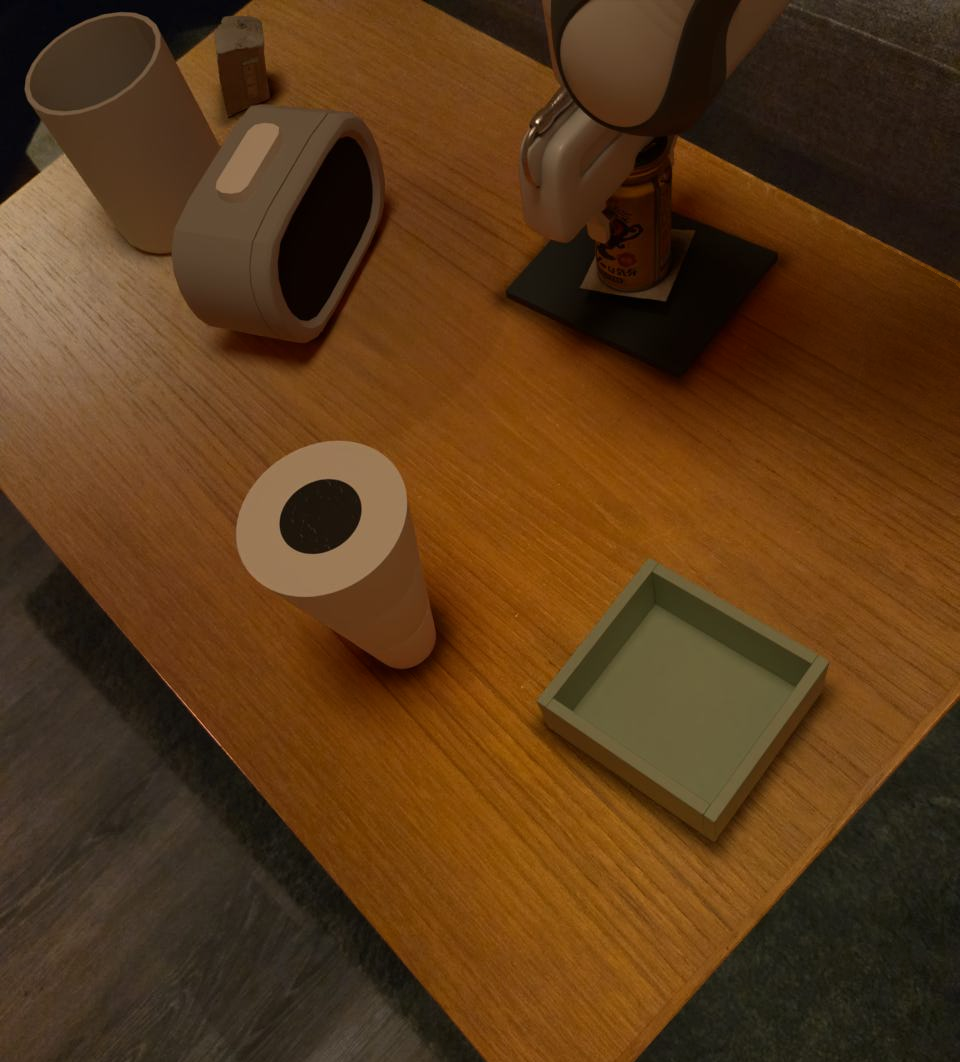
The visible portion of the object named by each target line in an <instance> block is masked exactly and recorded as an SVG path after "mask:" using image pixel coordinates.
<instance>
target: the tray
mask: <svg viewBox="0 0 960 1062" xmlns="http://www.w3.org/2000/svg"><path fill="white" fill-rule="evenodd" d="M605 611H606V612H604V613H603V615H602V616H601V618H600V619H599V620H598V621H597V623H596V624H595V626H593V628H592V629H591V631H590V632H589V633H588V634H587V635H586V637H585V638H584V639H583V641H581V643H580V644H579V646H578V647H577V648H576V649H575V651H574V652H573V653H572V654H571V655H570V657H569V658H568V659H567V661H566V662H565V664H564V665H563V666H562V667H561V668H560V670H559V671H558V672H557V673H556V675H555V676H554V677H553V678H552V680H551V681H550V683H549V684H548V685H547V686H546V687H545V689H544V690H543V691H542V693H541V694H540V695H539V696H538V697H537V699H536V704H537V705H538V707H539V710H540V713H541V715H542V717H543V719H544V721H545V723H546V725H547V728H548V729H550V730H551V731H552V732H554V733H555V734H556V735H558V736H559V737H561V738H563V740H566V741H567V742H568V743H570V744H571V745H572V746H574V747H576V748H577V749H579V750H580V751H581V752H583V753H584V754H585V755H587V756H588V757H590V758H592V759H593V760H594V761H596V762H597V763H599V764H600V765H601V766H603V767H604V768H606V769H607V770H609V771H610V772H611V773H613V774H614V775H616V776H617V777H619V778H620V779H622V780H623V781H625V782H626V783H628V784H629V785H631V786H632V787H633V788H635V789H636V790H638V791H639V792H641V793H642V794H643V795H645V796H646V797H648V799H651V800H652V801H653V802H655V803H656V804H658V805H659V806H661V807H662V808H664V809H665V810H666V811H668V812H669V813H671V814H672V815H673V816H675V817H676V818H678V819H679V820H681V821H682V822H684V823H685V824H686V825H688V826H689V827H691V828H692V829H694V830H695V831H696V832H698V833H699V834H701V835H702V836H704V837H705V838H706V839H708V840H709V841H711V842H712V843H715V842H716V841H717V839H718V838H720V835H721V834H722V833H723V832H724V830H725V828H726V827H727V826H728V824H729V823H730V821H731V820H732V819H733V817H734V816H735V814H736V813H737V811H738V810H739V809H740V807H741V806H742V805H743V803H744V802H745V800H746V799H747V797H748V796H749V795H750V793H751V792H752V791H753V790H754V788H755V786H756V785H757V784H758V782H759V781H760V779H761V778H762V777H763V776H764V773H765V772H766V771H767V770H768V768H769V767H770V765H771V764H772V763H773V761H774V760H775V758H776V757H777V756H778V754H779V753H780V751H781V750H782V748H783V747H784V746H785V744H786V743H787V741H788V740H789V739H790V738H791V736H792V734H793V733H794V732H795V730H796V729H797V728H798V727H799V725H800V724H801V722H802V720H803V719H804V718H805V716H806V715H807V714H808V712H809V711H810V709H811V708H812V707H813V705H814V703H816V701H817V700H818V698H819V696H821V694H822V692H823V687H824V685H825V680H826V678H827V673H828V670H829V667H830V663H831V661H830V660H829V659H827V658H826V657H824V656H822V655H820V654H819V653H817V652H815V651H814V650H812V649H810V648H808V647H806V646H805V645H803V644H801V643H800V642H798V641H796V640H795V639H793V638H791V637H789V636H787V635H786V634H784V633H782V632H780V631H778V630H777V629H775V628H774V627H772V626H770V625H768V624H766V623H764V622H763V621H761V620H759V619H757V618H756V617H754V616H752V615H751V614H749V613H747V612H745V611H744V610H742V609H740V608H739V607H737V606H735V605H733V604H732V603H730V602H728V601H727V600H725V599H723V598H721V597H720V596H717V595H716V594H714V593H713V592H711V591H709V590H707V589H705V588H703V587H702V586H700V585H698V584H696V583H695V582H693V581H691V580H689V579H688V578H686V577H684V576H683V575H680V574H679V573H678V572H676V571H674V570H672V569H670V568H668V567H667V566H666V565H663V564H662V563H660V562H658V561H656V560H654V559H653V558H651V557H648V558H647V559H646V560H645V562H644V563H643V564H642V565H641V567H640V568H639V569H638V571H636V573H635V574H634V576H633V577H632V578H631V579H630V580H629V582H628V583H627V584H626V586H625V587H624V588H623V590H622V591H621V592H620V593H619V595H618V596H617V597H616V598H615V600H614V601H613V602H612V603H611V605H610V606H609V608H607V610H605Z"/></svg>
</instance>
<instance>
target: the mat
mask: <svg viewBox="0 0 960 1062" xmlns="http://www.w3.org/2000/svg"><path fill="white" fill-rule="evenodd" d="M671 229H678V230H695V233H694V235H693V237H692V240H691V243H690V245H689V248H688V250H687V252H686V255H685V257H684V259H683V262H682V265H681V267H680V269H679V272H678V274H677V277H676V279H675V281H674V283H673V286H672V288H671V291H670V293H669V295H668V297H667V300H666V302H665V301H660V300H654V299H648V298H646V299H644V298H636V297H629V296H622V295H615V294H610V293H604V292H600V291H594V290H589V289H583V288H580V286H581V285H582V283H583V281H584V279H585V276H586V275H587V273H588V271H589V268H590V266H591V264H592V262H593V260H594V258H595V256H596V253H595V252H596V251H595V240H594V239H592V238H591V237H590V236H589V234H588V230H587V224H586V225H585V226H584V227H583V228H582V229H581V230H580V232H579V233H578V234H577V235H576V236H575V237H574V238H573V239H572V240H571V241H570V242H568V243H562V242H558V241H554V240H551V239H549V241H548V242H547V243H546V244H545V246H544V247H543V248H542V249H541V250H540V251H539V252H538V253H537V254H536V256H535V257H534V258H533V259H532V260H531V261H530V263H529V264H528V265H527V266H526V267H525V268H524V269H523V270H522V272H521V273H520V274H519V275H518V276H517V277H516V278H515V279H514V280H513V281H512V282H511V284H510V285H509V286H508V287H507V288H506V289H505V296H506V298H507V299H510V300H512V301H514V302H516V303H518V304H521V305H522V306H525V307H527V308H529V309H531V310H533V311H535V312H538V313H539V314H541V315H544V316H546V317H548V318H550V319H551V320H553V321H556V322H559V323H560V324H563V325H565V326H567V327H568V328H571V329H573V330H575V331H576V332H577V331H578V332H580V333H582V334H583V335H586V336H588V337H590V338H592V339H594V340H596V341H598V342H601V343H602V344H604V345H606V346H609V347H610V348H613V349H615V350H617V351H620V352H621V353H624V354H626V355H628V356H630V357H632V358H634V359H636V360H639V361H640V362H642V363H645V364H646V365H649V366H651V367H653V368H655V369H657V370H659V371H661V372H664V373H666V374H668V375H670V376H672V377H673V378H676V379H678V380H680V379H682V377H683V376H684V375H685V373H686V372H687V371H688V370H689V369H690V367H692V365H693V364H694V362H695V361H696V360H697V359H698V358H699V356H700V355H702V353H703V352H704V350H705V349H706V348H707V347H708V345H710V343H711V342H712V340H713V339H714V338H715V337H716V336H717V335H718V333H719V332H720V331H721V329H723V327H724V326H725V324H727V322H728V321H729V320H730V319H731V317H732V316H733V315H734V314H735V313H736V312H737V310H738V309H739V308H740V307H741V305H742V304H743V303H744V302H745V300H746V299H747V298H748V296H750V294H751V293H752V292H753V290H754V289H755V288H756V287H757V286H758V285H759V283H760V282H761V281H762V279H763V278H764V277H765V276H766V275H767V273H769V272H770V270H771V269H772V267H773V266H774V265H775V264H776V263H777V261H778V257H779V253H778V252H777V251H775V250H771V249H769V248H767V247H765V246H762V245H760V244H757V243H754V242H751V241H750V240H747V239H744V238H741V237H740V236H739V237H738V236H736V235H733V234H731V233H728V232H726V231H724V230H721V229H718V228H716V227H713V226H711V225H708V224H706V223H703V222H701V221H698V220H696V219H693V218H691V217H688V216H686V215H684V214H683V215H682V214H681V213H678V212H675V211H673V210H671Z"/></svg>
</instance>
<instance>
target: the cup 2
mask: <svg viewBox="0 0 960 1062" xmlns="http://www.w3.org/2000/svg"><path fill="white" fill-rule="evenodd" d="M409 502H410V501H409V498H408V494H407V489H406V486H405V482H404V480H403V477H402V474H401V473H400V471H399V470H398V468H397V467H396V466H395V464H394V463H393V462H392V461H391V460H390V459H389V457H387V456H385V454H383V453H382V452H380V451H378V449H375V448H374V447H371V446H369V445H366V444H364V443H363V444H362V443H359V442H355V441H350V440H328V441H322V442H315V443H313V444H309V445H306V446H303V447H301V448H298V449H296V450H294V451H292V452H290V453H288V454H286V455H284V456H283V457H281V458H280V459H278V460H277V461H275V462H274V463H273V464H272V465H271V466H269V467H268V468H267V469H266V470H265V471H264V472H263V473H262V474H261V475H260V476H259V478H257V480H256V481H255V482H254V483H253V485H252V486H251V488H250V489H249V491H248V492H247V494H246V496H245V498H244V500H243V502H242V504H241V507H240V509H239V514H238V516H237V521H236V528H235V541H236V548H237V552H238V554H239V555H238V556H239V558H240V560H241V562H242V565H243V566H244V568H245V569H246V571H247V572H248V573H249V574H250V575H251V577H252V578H253V579H254V580H256V582H258V583H259V584H261V585H262V586H263V587H265V588H266V589H268V590H270V591H271V592H273V593H274V594H275V595H277V596H279V597H280V598H282V599H283V600H284V601H286V602H288V603H290V604H291V605H293V606H294V607H296V608H297V609H298V610H300V611H302V612H303V613H305V614H306V615H308V616H310V617H312V618H313V619H315V620H316V621H317V622H320V623H321V624H323V625H324V626H325V627H327V628H329V629H331V630H332V631H334V632H335V633H336V634H339V635H340V636H342V637H343V638H345V639H347V640H348V641H349V642H351V643H353V644H354V645H355V646H357V647H358V648H360V649H361V650H363V651H364V652H366V653H367V654H369V655H370V656H372V657H374V658H375V659H377V660H378V661H380V663H383V664H384V665H386V666H387V667H389V668H392V669H396V670H397V669H398V670H405V669H406V670H407V669H410V668H414V667H416V666H418V665H420V664H421V663H422V662H424V661H425V660H426V659H427V658H428V657H429V656H430V655H431V653H432V652H433V650H434V647H435V645H436V642H437V641H436V640H437V632H436V627H435V621H434V617H433V613H432V608H431V603H430V599H429V594H428V591H427V585H426V581H425V576H424V571H423V565H422V562H421V556H420V550H419V546H418V541H417V535H416V530H415V527H414V522H413V516H412V512H411V508H410V503H409Z"/></svg>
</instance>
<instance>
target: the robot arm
mask: <svg viewBox="0 0 960 1062" xmlns="http://www.w3.org/2000/svg"><path fill="white" fill-rule="evenodd" d="M792 1H793V0H541V5H542V12H543V17H544V23H545V29H546V36H547V42H548V43H547V44H548V49H549V55H550V61H551V66H552V67H551V68H552V72H553V76H554V77H555V80H556V81H557V83H558V84H559V85H560V87H559V88H558V89H557V90H556V91H555V93H554V94H553V95H552V97H551V98H550V100H549V101H548V102H547V103H546V104H545V105H544V106H543V107H542V108H540V109H538V111H536V113H535V114H534V115H533V116H532V118H531V120H530V121H529V124H528V126H529V127H528V129H527V131H526V132H525V134H524V135H523V138H522V141H521V144H520V146H519V154H518V178H519V179H518V180H519V181H518V182H519V192H520V203H521V207H522V215H523V220H524V224H525V225H526V227H527V228H528V229H529V230H531V232H534V233H535V234H538V235H539V236H541V237H543V238H546V239H548V240H554V241H558V242H562V243H568V242H570V241H571V240H572V239H573V238H574V237H575V236H576V235H577V234H578V233H579V232H580V230H581V229H582V228H583V227H584V226H585V225H586V224H587V230H588V234H589V236H590V237H591V238H592V239H594V240H596V241H598V242H601V243H603V244H605V243H607V241H608V240H609V239H610V238H611V236H612V235H613V234H614V233H615V232H616V230H617V229H618V226H617V225H616V223H617V217H616V214H614V213H612V212H605V210H604V209H605V208H606V201H607V200H608V199H609V198H610V196H611V195H612V194H613V193H614V192H615V191H616V190H617V189H618V187H619V186H620V185H621V184H622V183H623V182H624V181H625V179H626V178H627V177H628V176H629V175H630V174H631V173H632V172H633V170H634V165H635V159H636V157H637V155H638V153H639V152H640V151H641V150H642V149H643V148H644V147H646V146H647V145H648V144H649V143H650V142H651V141H652V140H653V139H654V138H655V137H662V136H668V138H667V139H668V142H667V148H668V157H669V160H670V162H671V164H672V168H673V167H674V165H675V148H676V144H677V142H678V137H679V135H681V134H685V133H686V132H687V131H690V130H691V129H692V128H693V127H695V125H697V124H698V122H699V121H700V120H701V118H702V117H703V116H704V114H705V112H707V109H708V108H709V107H710V106H711V104H712V103H713V101H715V99H716V97H717V96H718V94H719V93H720V92H721V90H722V89H723V86H724V85H725V82H726V81H727V80H728V78H729V77H730V76H731V75H732V74H733V73H734V72H735V70H736V69H737V68H738V67H739V65H741V63H742V62H743V60H745V58H746V57H747V56H748V54H749V53H750V52H751V51H752V50H753V48H754V47H755V46H756V44H758V43H759V42H760V40H761V39H762V37H763V36H764V35H765V34H766V33H767V32H768V30H769V29H770V28H771V27H772V26H773V24H774V23H775V22H776V21H777V19H778V18H779V17H780V16H781V15H782V13H783V12H784V11H785V10H786V9H787V8H788V6H789V5H790V4H791V3H792Z"/></svg>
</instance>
